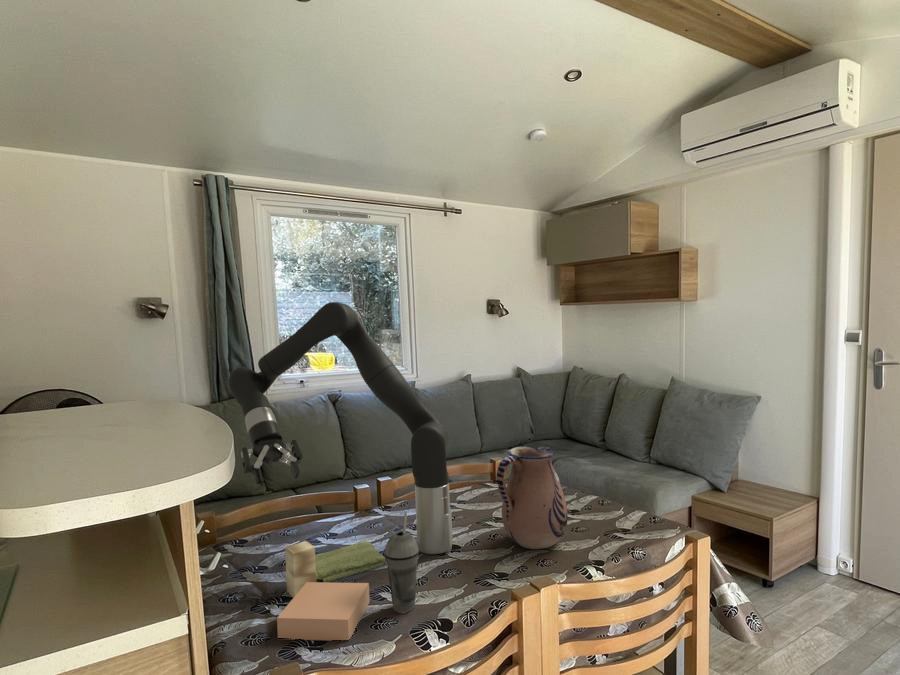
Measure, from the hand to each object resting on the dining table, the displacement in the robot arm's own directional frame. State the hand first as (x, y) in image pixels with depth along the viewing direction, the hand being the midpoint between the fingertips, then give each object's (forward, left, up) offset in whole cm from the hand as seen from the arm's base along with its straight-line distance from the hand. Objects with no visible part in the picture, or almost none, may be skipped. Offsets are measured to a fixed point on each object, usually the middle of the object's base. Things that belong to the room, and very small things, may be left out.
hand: (279, 480), depth 122 cm
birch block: (-8, +8, -23) cm, 26 cm away
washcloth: (-14, -5, -24) cm, 28 cm away
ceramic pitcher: (-61, -18, -23) cm, 68 cm away
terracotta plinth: (-18, +19, -23) cm, 35 cm away
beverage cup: (-33, +14, -23) cm, 43 cm away
